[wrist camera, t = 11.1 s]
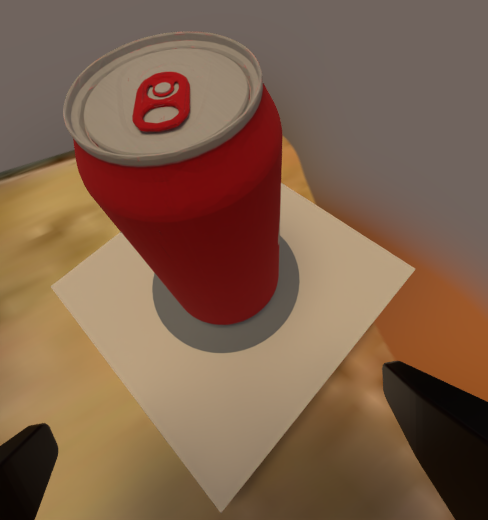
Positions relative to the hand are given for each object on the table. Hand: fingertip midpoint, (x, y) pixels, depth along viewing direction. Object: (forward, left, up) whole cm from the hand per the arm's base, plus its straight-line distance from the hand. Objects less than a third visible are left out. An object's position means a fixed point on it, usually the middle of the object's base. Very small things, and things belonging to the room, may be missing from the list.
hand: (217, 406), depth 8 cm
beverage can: (+6, -4, -8) cm, 11 cm away
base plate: (+6, -4, -11) cm, 13 cm away
